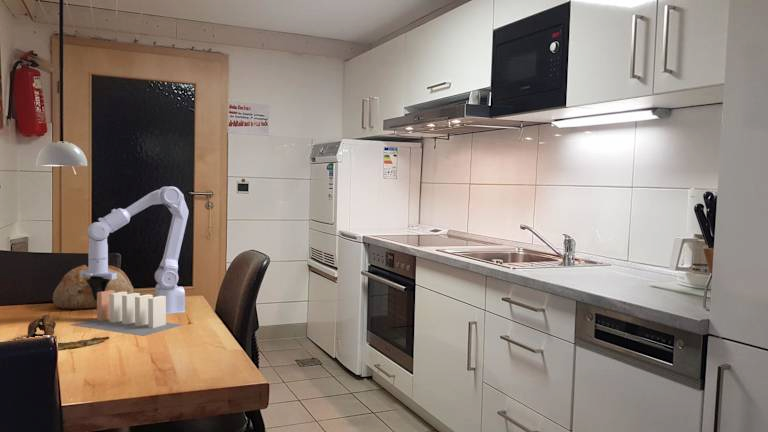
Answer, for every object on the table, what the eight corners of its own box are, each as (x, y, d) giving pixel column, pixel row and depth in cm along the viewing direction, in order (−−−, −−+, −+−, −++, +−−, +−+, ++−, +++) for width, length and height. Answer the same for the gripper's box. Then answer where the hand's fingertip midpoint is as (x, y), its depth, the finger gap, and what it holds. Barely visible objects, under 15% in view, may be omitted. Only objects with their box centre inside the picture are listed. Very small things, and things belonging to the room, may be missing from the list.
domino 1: (97, 320, 184) (97, 292, 184) (110, 317, 189) (110, 290, 189) (101, 320, 184) (101, 293, 183) (114, 317, 188) (114, 290, 188)
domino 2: (109, 321, 182) (109, 293, 182) (122, 318, 187) (122, 291, 187) (114, 322, 181) (114, 294, 181) (127, 319, 186) (127, 292, 186)
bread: (44, 312, 197) (44, 269, 196) (64, 300, 219) (64, 261, 219) (127, 310, 203) (127, 268, 203) (138, 298, 226) (138, 260, 225)
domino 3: (122, 323, 180) (122, 295, 180) (135, 320, 185) (135, 292, 184) (126, 324, 179) (126, 295, 179) (139, 321, 184) (139, 293, 184)
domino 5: (148, 327, 176) (148, 298, 175) (161, 323, 180) (161, 295, 180) (153, 328, 175) (153, 298, 174) (165, 324, 180) (165, 296, 179)
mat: (69, 326, 178) (69, 324, 178) (112, 316, 192) (112, 315, 192) (143, 337, 165) (143, 335, 165) (183, 326, 180) (183, 324, 180)
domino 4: (135, 325, 178) (134, 296, 177) (148, 322, 183) (148, 294, 182) (139, 326, 177) (139, 297, 177) (152, 322, 182) (152, 294, 181)
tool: (11, 337, 162) (9, 373, 137) (12, 316, 162) (10, 347, 136) (102, 332, 174) (115, 363, 149) (103, 312, 174) (117, 340, 149)
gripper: (71, 258, 186) (72, 299, 187) (103, 261, 181) (103, 303, 181) (90, 256, 193) (91, 296, 193) (122, 259, 187) (122, 300, 187)
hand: (98, 299), depth 188 cm, fingers closed
